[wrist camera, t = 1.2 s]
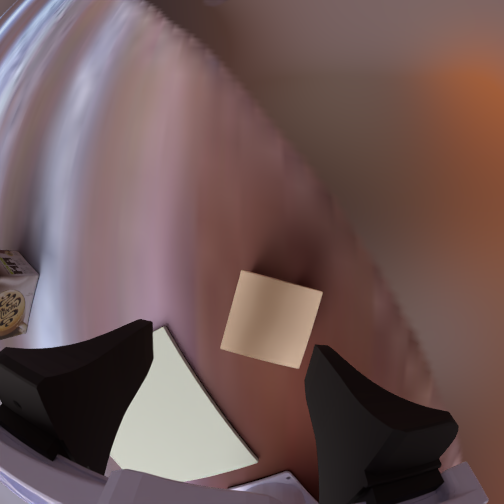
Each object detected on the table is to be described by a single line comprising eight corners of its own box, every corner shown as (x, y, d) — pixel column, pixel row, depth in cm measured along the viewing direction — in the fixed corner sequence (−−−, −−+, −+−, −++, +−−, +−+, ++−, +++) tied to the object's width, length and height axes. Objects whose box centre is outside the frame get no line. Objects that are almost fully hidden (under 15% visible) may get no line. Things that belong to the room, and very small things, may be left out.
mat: (258, 459, 22) (258, 462, 21) (141, 485, 22) (140, 487, 22) (165, 325, 23) (163, 326, 23) (61, 379, 24) (59, 380, 23)
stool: (309, 285, 23) (323, 292, 17) (291, 345, 22) (298, 368, 17) (247, 268, 23) (241, 270, 17) (231, 329, 23) (220, 348, 17)
